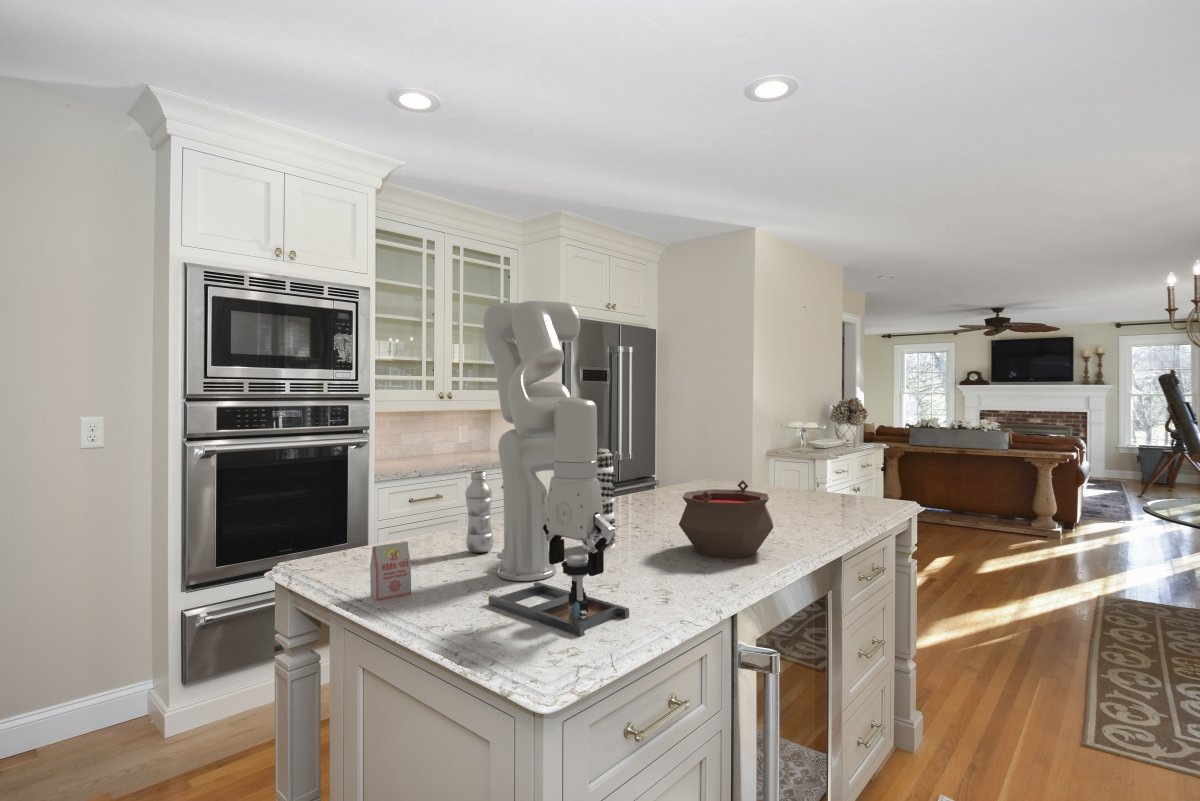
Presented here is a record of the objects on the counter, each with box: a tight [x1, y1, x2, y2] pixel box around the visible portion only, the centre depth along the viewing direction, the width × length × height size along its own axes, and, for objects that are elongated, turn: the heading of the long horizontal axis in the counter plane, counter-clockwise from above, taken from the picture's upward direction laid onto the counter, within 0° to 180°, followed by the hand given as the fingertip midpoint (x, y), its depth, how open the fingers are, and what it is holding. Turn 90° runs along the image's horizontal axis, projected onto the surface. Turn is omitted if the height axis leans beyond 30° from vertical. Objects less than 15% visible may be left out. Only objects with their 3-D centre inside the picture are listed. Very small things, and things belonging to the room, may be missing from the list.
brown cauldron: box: [678, 479, 774, 559], centre depth 155 cm, size 24×24×16 cm
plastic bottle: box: [464, 470, 495, 554], centre depth 157 cm, size 6×7×20 cm
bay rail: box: [487, 581, 630, 638], centre depth 113 cm, size 24×12×2 cm, turn 47°
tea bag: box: [369, 541, 412, 602], centre depth 124 cm, size 4×7×10 cm, turn 126°
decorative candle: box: [581, 447, 617, 551], centre depth 161 cm, size 9×9×25 cm
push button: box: [561, 554, 589, 619], centre depth 109 cm, size 7×5×10 cm
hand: (575, 568), depth 110 cm, fingers open, 9 cm apart
